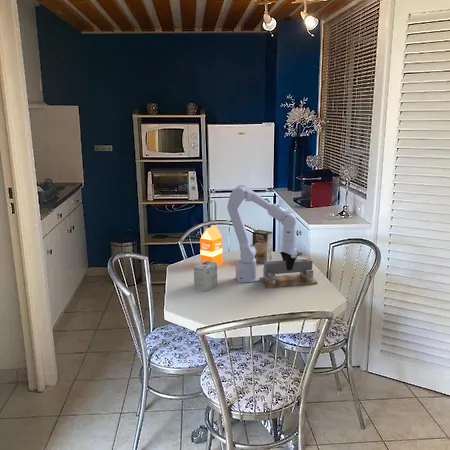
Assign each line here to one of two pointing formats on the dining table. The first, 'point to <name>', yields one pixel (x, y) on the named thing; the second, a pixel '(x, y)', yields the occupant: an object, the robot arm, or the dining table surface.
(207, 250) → the orange juice
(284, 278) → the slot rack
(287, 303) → the dining table surface
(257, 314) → the dining table surface
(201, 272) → the light bulb box
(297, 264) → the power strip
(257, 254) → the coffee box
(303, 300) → the dining table surface
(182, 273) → the dining table surface
